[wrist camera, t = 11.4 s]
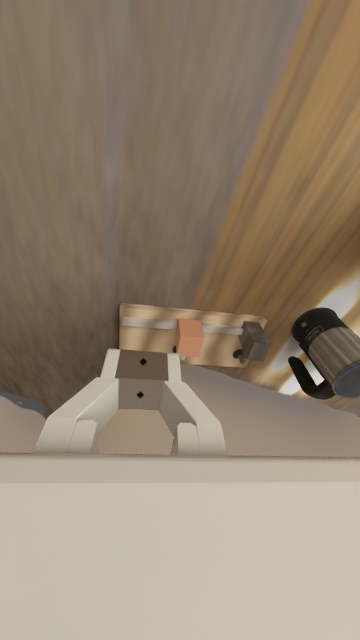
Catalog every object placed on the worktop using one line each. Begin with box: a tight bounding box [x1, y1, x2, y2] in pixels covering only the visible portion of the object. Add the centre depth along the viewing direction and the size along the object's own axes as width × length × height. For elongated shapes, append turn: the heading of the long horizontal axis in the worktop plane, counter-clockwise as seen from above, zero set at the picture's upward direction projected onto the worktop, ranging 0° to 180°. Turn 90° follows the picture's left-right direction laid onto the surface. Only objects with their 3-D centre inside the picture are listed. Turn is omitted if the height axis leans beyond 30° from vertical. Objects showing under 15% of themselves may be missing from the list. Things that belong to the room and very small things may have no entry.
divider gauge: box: [119, 303, 271, 368], centre depth 47 cm, size 28×13×8 cm, turn 81°
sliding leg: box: [175, 318, 204, 360], centre depth 45 cm, size 4×9×6 cm, turn 171°
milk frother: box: [288, 308, 360, 399], centre depth 46 cm, size 14×16×15 cm
